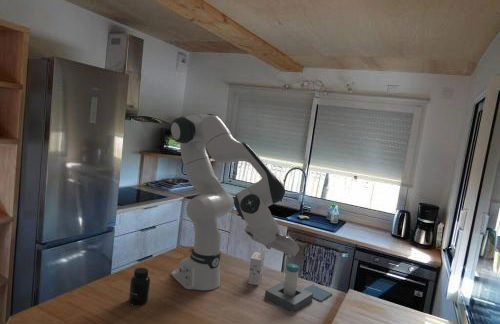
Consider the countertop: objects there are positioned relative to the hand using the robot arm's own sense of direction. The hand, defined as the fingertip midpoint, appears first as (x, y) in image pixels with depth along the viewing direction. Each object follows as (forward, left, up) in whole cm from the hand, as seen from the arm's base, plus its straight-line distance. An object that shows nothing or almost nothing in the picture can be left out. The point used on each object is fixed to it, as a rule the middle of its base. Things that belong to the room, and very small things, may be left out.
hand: (279, 251), depth 129 cm
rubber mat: (+5, +25, -23) cm, 34 cm away
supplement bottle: (-34, -37, -23) cm, 55 cm away
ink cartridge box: (-19, +12, -23) cm, 32 cm away
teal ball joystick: (0, +11, -23) cm, 25 cm away
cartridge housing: (0, +11, -23) cm, 25 cm away
